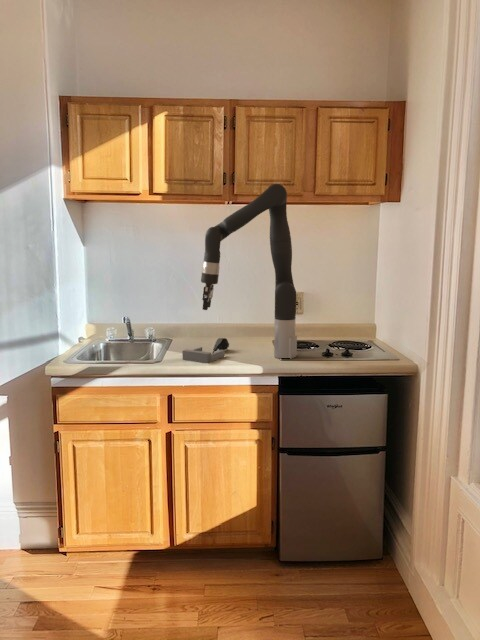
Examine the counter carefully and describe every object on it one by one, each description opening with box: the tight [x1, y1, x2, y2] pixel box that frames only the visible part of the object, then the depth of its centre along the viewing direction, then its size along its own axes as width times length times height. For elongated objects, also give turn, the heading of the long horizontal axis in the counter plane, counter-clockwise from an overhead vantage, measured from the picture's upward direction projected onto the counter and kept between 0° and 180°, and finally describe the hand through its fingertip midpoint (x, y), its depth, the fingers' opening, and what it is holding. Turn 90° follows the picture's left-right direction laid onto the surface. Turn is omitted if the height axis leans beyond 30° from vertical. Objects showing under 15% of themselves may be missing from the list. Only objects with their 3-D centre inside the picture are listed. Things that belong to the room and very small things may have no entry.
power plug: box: [211, 337, 230, 354], centre depth 237 cm, size 6×8×12 cm
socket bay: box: [181, 346, 226, 364], centre depth 225 cm, size 13×14×4 cm
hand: (206, 308), depth 227 cm, fingers open, 8 cm apart
